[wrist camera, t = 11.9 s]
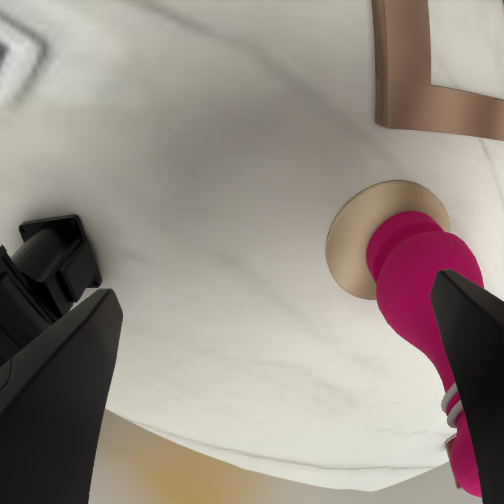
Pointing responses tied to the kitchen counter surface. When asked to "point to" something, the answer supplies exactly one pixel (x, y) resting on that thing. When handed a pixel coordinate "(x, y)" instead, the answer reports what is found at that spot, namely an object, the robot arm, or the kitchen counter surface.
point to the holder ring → (422, 79)
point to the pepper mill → (424, 308)
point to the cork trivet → (373, 230)
